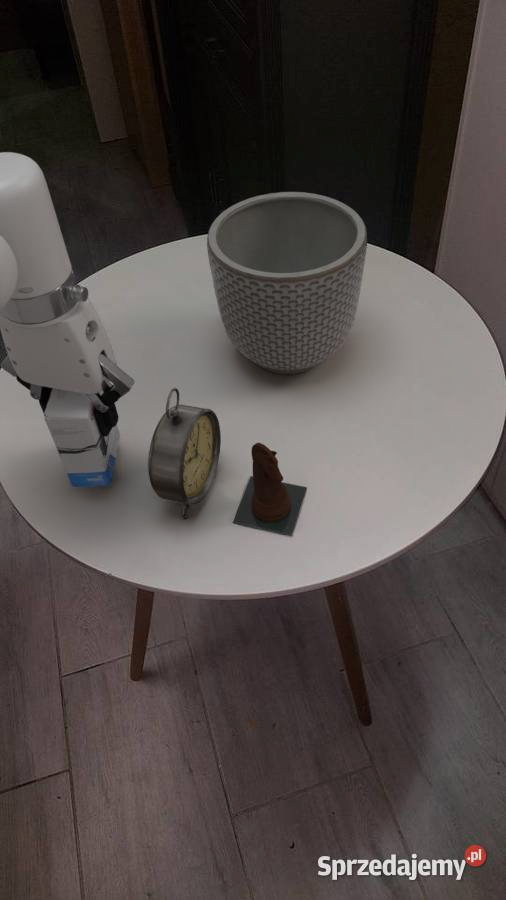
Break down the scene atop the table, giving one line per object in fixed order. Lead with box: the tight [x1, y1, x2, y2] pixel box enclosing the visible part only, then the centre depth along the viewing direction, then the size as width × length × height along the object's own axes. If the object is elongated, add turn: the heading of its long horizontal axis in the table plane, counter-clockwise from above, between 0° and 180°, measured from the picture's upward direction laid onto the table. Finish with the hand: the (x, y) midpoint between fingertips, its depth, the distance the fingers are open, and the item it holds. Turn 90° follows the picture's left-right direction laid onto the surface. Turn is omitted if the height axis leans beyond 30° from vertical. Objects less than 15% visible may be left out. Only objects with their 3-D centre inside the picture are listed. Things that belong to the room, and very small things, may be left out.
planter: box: [206, 191, 368, 375], centre depth 90 cm, size 20×20×19 cm
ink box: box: [43, 388, 121, 488], centre depth 79 cm, size 8×5×12 cm, turn 179°
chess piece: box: [251, 442, 291, 522], centre depth 76 cm, size 5×5×10 cm
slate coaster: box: [232, 475, 308, 537], centre depth 80 cm, size 7×7×1 cm
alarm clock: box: [147, 387, 222, 520], centre depth 76 cm, size 11×5×16 cm, turn 161°
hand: (83, 421), depth 78 cm, fingers closed on ink box, 5 cm apart
